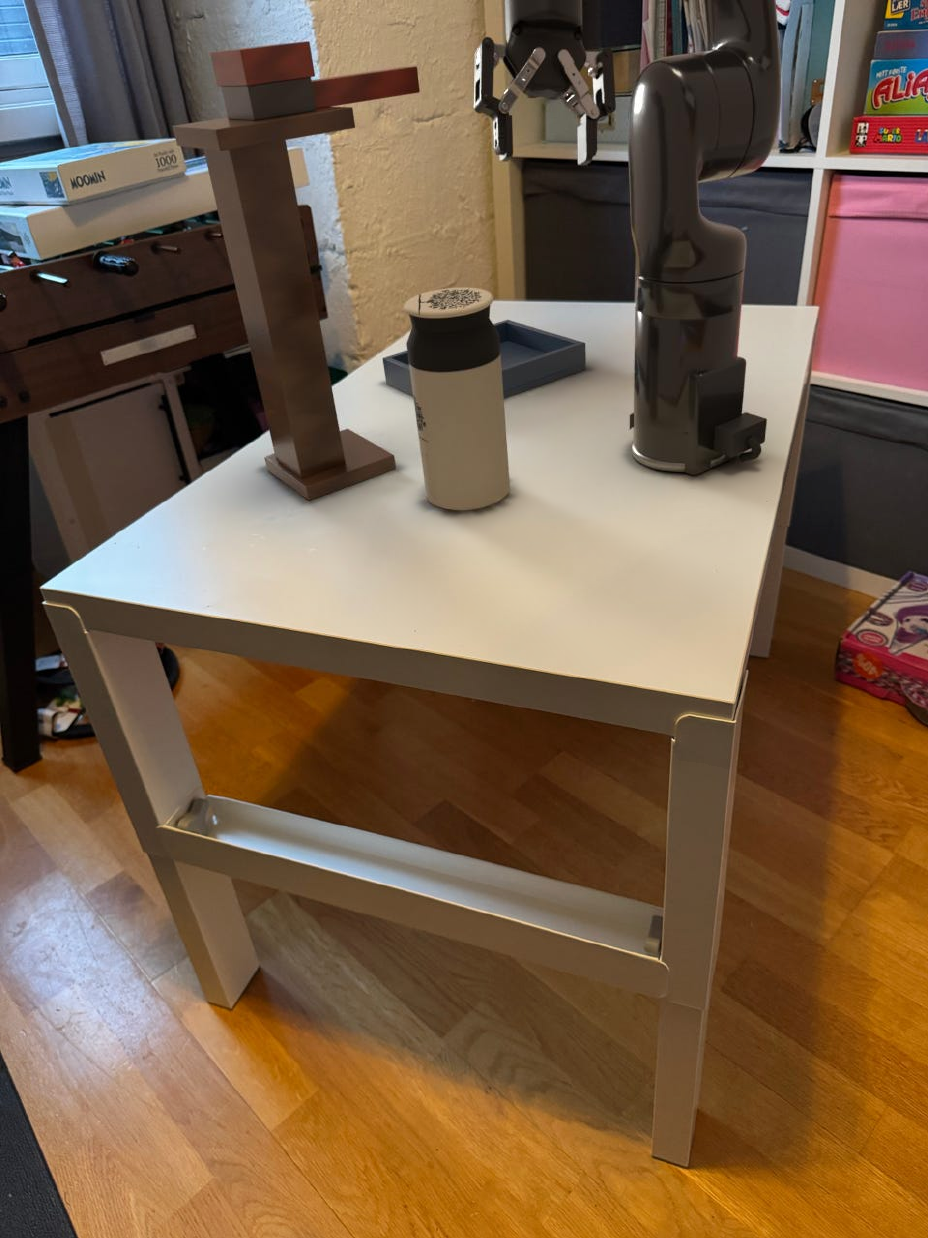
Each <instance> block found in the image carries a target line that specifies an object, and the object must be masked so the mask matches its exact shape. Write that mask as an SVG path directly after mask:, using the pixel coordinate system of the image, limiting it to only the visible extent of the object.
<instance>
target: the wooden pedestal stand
mask: <svg viewBox="0 0 928 1238" xmlns="http://www.w3.org/2000/svg"><path fill="white" fill-rule="evenodd" d="M355 122H356V121H355V116H354V109H353V107H352V106H332V107H326V108H320V109H316V111H311V112H305V113H299V114H293V115H286V116H280V117H274V118H268V119H261V120H255V121H254V120H236V119H228V116H227V117H221V118H215V119H214V118H213V119H209V120H202V121H196V122H189V123H182V124H176V125H172V131H173V136H174V139H175V143H176V146H177V147H184V148H192V149H200V150H203V153H204V159H205V162H206V163H205V164H206V166H207V171H208V175H209V180H210V183H211V188H212V193H213V196H214V202H215V205H216V211H217V213H218V218H219V223H220V227H221V231H222V235H223V239H224V243H225V248H226V252H227V257H228V261H229V265H230V269H231V274H232V277H233V282H234V286H235V290H236V295H237V299H238V303H239V307H240V312H241V317H242V320H243V321H242V322H243V325H244V329H245V333H246V337H247V341H248V346H249V349H250V351H249V352H250V354H251V359H252V364H253V368H254V371H255V376H256V381H257V384H258V388H259V392H260V398H261V401H262V405H263V411H264V414H265V419H266V423H267V427H268V432H269V436H270V440H271V445H272V447H273V452H274V453H271V454H269V455H265V456H264V463H265V467H266V471H268V472H270V473H271V474H272V475H274V476H275V477H276V478H277V479H279V480H280V481H282V482H283V483H285V484H286V485H287V486H289V487H290V488H291V489H293V490H294V491H295V492H297V493H298V494H299V495H301V496H302V497H303V498H304V499H305V500H307V501H312V500H314V499H317V498H320V497H323V496H325V495H328V494H331V493H334V492H337V491H340V490H342V489H344V488H347V487H350V486H353V485H356V484H358V483H361V482H364V481H366V480H369V479H371V478H374V477H377V476H379V475H380V476H381V475H382V474H385V473H387V472H390V471H393V470H395V469H397V464H396V458H395V455H394V454H393V453H391V452H390V451H388V450H387V449H384V448H383V447H381V446H379V445H377V444H375V443H374V442H372V441H370V440H368V439H367V438H365V437H363V436H362V435H360V434H358V433H356V432H354V431H352V430H351V429H349V428H345V429H342V430H340V424H339V418H338V414H337V407H336V403H335V402H336V401H335V398H334V392H333V391H334V390H333V386H332V380H331V376H330V371H329V364H328V360H327V359H328V358H327V354H326V349H325V348H326V347H325V343H324V338H323V332H322V327H321V322H320V316H319V311H318V306H317V300H316V295H315V289H314V284H313V280H312V274H311V268H310V262H309V257H308V252H307V248H306V241H305V237H304V236H305V235H304V231H303V225H302V219H301V214H300V208H299V204H298V198H297V192H296V187H295V183H294V182H295V181H294V177H293V172H292V171H293V170H292V166H291V161H290V156H289V151H288V150H289V149H288V144H287V141H288V140H293V139H300V138H305V137H311V136H317V135H322V134H328V133H334V132H340V131H346V130H351V129H355V128H356V123H355Z"/></svg>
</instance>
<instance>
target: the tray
mask: <svg viewBox="0 0 928 1238" xmlns="http://www.w3.org/2000/svg"><path fill="white" fill-rule="evenodd" d="M493 325H494V326H495V328H496V330H497V331H498V333H499V342H500V356H501V370H502V383H503V397H504V399H506V398H509V397H511V396H514V395H517V394H521V393H523V392H526V391H528V390H531V389H534V388H537V387H539V386H542V385H546V384H549V383H551V382H554V381H557V380H559V379H563V378H565V377H568V376H571V375H574V374H576V373H579V372H582V371H585V370H586V369H587V365H586V363H587V362H586V361H587V359H586V357H587V356H586V342H584V341H580V340H577V339H573V338H570V337H566V336H564V335H560V334H557V333H553V332H549V331H548V330H543V329H539V328H537V327H533V326H530V325H527V324H524V323H521V322H517V321H513V320H511V319H505V320H502V321H499V322H496V323H493ZM381 360H382V365H383V373H384V378H385V384H386V385H388V386H390V387H392V388H395V389H397V390H400V391H401V392H404V393H406V394H408V395H410V396H412V397H413V391H412V383H411V376H410V368H409V361H408V353H407V350H404V351H401V352H397V353H395V354H391V355H388V356H385V357H382V358H381Z"/></svg>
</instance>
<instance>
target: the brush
mask: <svg viewBox="0 0 928 1238" xmlns="http://www.w3.org/2000/svg"><path fill="white" fill-rule="evenodd" d="M209 56H210V60H211V63H212V69H213V74H214V78H215V83H216V86H217V87H221V91H222V95H223V96H222V97H223V101H224V105H225V110H226V114H227V117H228V119H236V120H254V121H255V120H261V119H268V118H274V117H280V116H286V115H293V114H299V113H305V112H311V111H316V109H320V108H326V107H340V106H344V105H350V104H356V103H363V102H369V101H377V100H382V99H388V98H394V97H401V96H407V95H412V94H413V95H414V94H419V93H420V92H421V91H420V90H421V89H420V81H419V73H418V67H417V66H401V67H393V68H392V67H391V68H386V69H378V70H372V71H364V72H358V73H351V74H345V75H338V76H330V77H323V78H316V79H312V78H313V77H314V78H315V77H316V72H315V67H314V66H315V65H314V60H313V54H312V49H311V42H310V41H309V40H307V41H296V42H286V43H277V44H267V45H259V46H252V47H244V48H242V47H241V48H235V49H227V50H218V51H217V50H216V51H210V52H209Z"/></svg>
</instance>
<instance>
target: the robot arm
mask: <svg viewBox="0 0 928 1238" xmlns="http://www.w3.org/2000/svg"><path fill="white" fill-rule="evenodd" d="M702 3H703V10H704V19H705V21H704V22H705V33H706V50H705V51H698V52H691V53H690V52H689V53H682V54H676V55H668V56H665V57H661V58H657V59H654V60H653V61H650V62H649V63H648V64H646V65H645V66H644V67H643V69H642V70H641V72H639V74H638V76H637V79H636V80H635V83H634V85H633V89H632V92H631V95H630V101H629V107H628V116H627V153H628V154H627V156H628V157H627V159H628V179H629V205H630V206H629V210H630V211H629V212H630V213H629V214H630V216H629V217H630V230H631V231H630V232H631V237H632V242H633V248H634V253H635V308H634V309H635V310H634V313H635V315H634V367H633V369H634V372H633V373H634V377H633V379H634V380H633V383H634V384H633V412H632V413H631V414H629V430H632V429H633V440H632V449H631V451H632V456H633V458H634V459H635V460H636V461H637V462H638V463H640V464H641V465H644V466H646V467H649V468H651V469H655V470H658V471H659V470H660V471H665V472H674V473H675V472H679V473H686V474H689V475H692V476H697V475H698V474H701V473H703V472H706V471H708V470H710V469H712V468H715V467H716V466H719V465H721V464H723V463H725V462H728V461H730V460H732V459H734V458H737V457H738V460H739V462H741V463H745V462H749V461H754V460H756V459H758V458H759V457H760V455H761V453H762V446H761V445H762V444H764V443H766V433H767V425H768V419H767V418H765V417H762V416H759V415H756V414H753V413H750V412H748V411H744V412H743V407H744V396H745V395H744V394H745V383H746V373H747V372H746V371H747V360H746V358H745V357H742V356H738V355H739V344H740V343H739V342H740V333H741V331H740V330H741V318H742V309H743V308H742V306H743V295H744V284H745V283H744V282H745V273H746V272H745V271H746V261H747V260H746V259H747V237H746V235H745V233H744V232H743V231H742V230H740V229H739V228H737V227H735V226H732V225H729V224H726V223H721V222H716V221H712V220H709V219H708V218H706V217H705V216H703V215H702V213H701V209H700V202H699V201H700V199H699V185H701V184H706V183H711V182H716V181H721V180H727V179H732V178H737V177H738V178H739V177H742V176H745V175H748V174H752V173H754V172H755V171H757V170H758V169H759V168H761V167H762V166H763V165H764V163H766V160H767V159H768V158H769V157H770V154H771V152H772V150H773V147H774V145H775V143H776V141H777V140H776V139H777V136H778V131H779V125H780V121H781V120H780V119H781V107H782V71H781V67H782V66H781V54H780V53H781V52H780V40H779V25H778V11H777V0H702ZM504 17H505V18H504V20H505V21H504V22H505V25H504V26H505V38H506V39H505V43H504V44H502V43H496V42H494V40H493V38H492V37H490V36H485V37H483V38H482V40H481V41H480V43H479V44H478V46H477V47H476V48H475V50H474V69H473V70H474V72H473V77H474V78H473V80H474V81H473V109H474V111H475V113H477V114H479V115H481V114H484V115H486V116H488V117H489V118H490V119H491V121H492V131H493V133H492V134H493V135H492V136H493V151H494V153H495V156H499V161H500V162H505V163H508V162H509V161H510V160H511V159H512V158H513V156H514V132H513V128H514V127H513V115H512V114H510V111H511V109H512V108H513V106H514V105H515V103H516V102H517V101H518V99H519V97H520V96H521V95H522V93H523V94H524V95H525V96H526V98H527V99H537V98H541V97H542V98H543V99H547V100H552V101H553V100H554V101H556V100H558V98H559V99H560V100H561V102H562V103H563V104H564V106H565V107H566V109H568V110H570V111H571V112H572V114H573V116H574V117H575V119H576V120H577V122H578V124H579V125H578V126H577V128H576V129H577V130H576V131H577V132H576V133H577V140H576V141H577V165H578V166H584V167H585V166H587V165H589V164H590V163H591V162H592V161H593V159H594V157H595V156H596V155H597V153H598V123H599V122H603V121H604V120H606V119H607V118H608V117H609V116H610V115H611V114H613V113H614V112H615V111H616V108H617V104H616V86H615V85H616V83H615V69H614V53H613V50H612V49H611V48H610V47H608V46H606V47H603V49H602V50H600V51H587V50H586V49H585V47H584V45H583V40H582V36H583V0H504ZM500 60H502V63H503V64H504V66H505V68H506V69H507V71H508V72H509V74H510V75H511V78H512V79H511V81H510V83H509V84H508V86H507V87H506V89H505V90H504V92H503V93H502V95H501V97H500V98H497V97H495V96H494V70H495V69H497V66H499V63H500ZM584 67H585V68H586V70H587V72H588V73H587V74H588V76H589V77H591V78H592V91H593V97H592V95H591V93H590V88H589V85H588V84H587V82H586V81H585V79H584V77H583V76H582V74H581V73H580V72H581V71H582V69H583V68H584ZM748 450H750V451H748Z"/></svg>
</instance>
